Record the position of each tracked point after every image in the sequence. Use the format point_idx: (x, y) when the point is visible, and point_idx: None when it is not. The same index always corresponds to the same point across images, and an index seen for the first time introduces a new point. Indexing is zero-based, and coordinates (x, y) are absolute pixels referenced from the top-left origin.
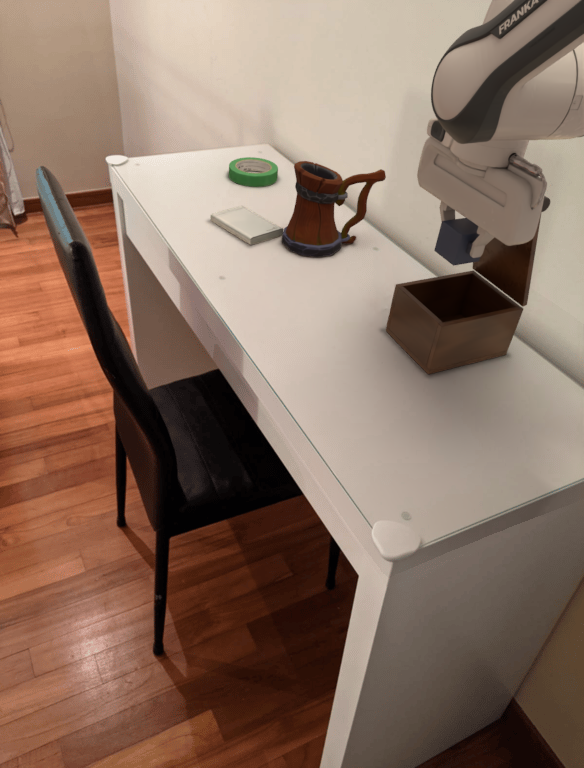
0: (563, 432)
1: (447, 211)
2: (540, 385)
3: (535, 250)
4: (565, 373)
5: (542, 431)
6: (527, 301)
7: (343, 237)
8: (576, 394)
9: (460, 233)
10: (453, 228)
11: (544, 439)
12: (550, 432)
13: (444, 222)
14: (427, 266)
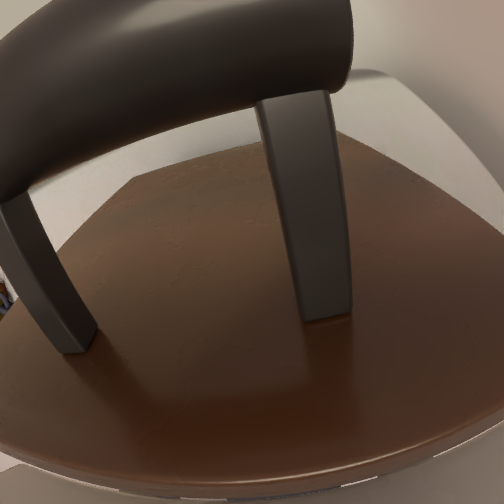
0: (470, 170)
1: None
2: (391, 135)
3: (422, 177)
4: (367, 75)
5: (465, 197)
6: (336, 130)
7: (2, 302)
8: (413, 94)
9: (328, 489)
10: (288, 495)
11: (474, 204)
12: (468, 188)
13: (238, 499)
14: None
